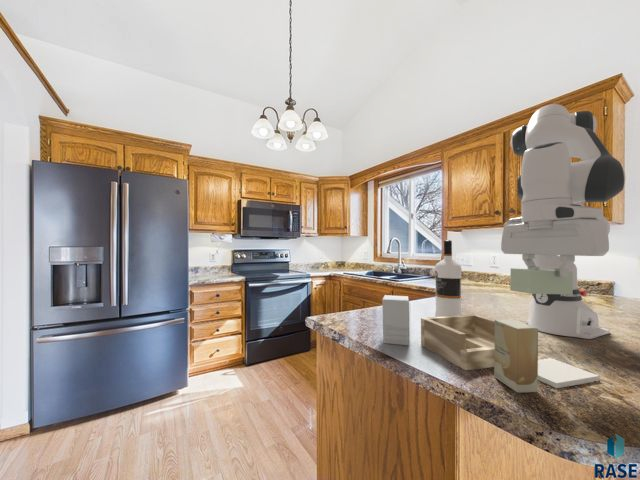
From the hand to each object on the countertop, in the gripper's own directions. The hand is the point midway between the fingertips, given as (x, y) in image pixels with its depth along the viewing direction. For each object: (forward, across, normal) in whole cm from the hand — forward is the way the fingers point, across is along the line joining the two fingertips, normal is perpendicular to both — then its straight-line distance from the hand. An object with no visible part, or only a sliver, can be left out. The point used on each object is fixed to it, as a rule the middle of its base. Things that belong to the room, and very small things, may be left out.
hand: (547, 275), depth 60 cm
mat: (+21, +2, -1) cm, 21 cm away
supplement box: (+21, -25, -24) cm, 40 cm away
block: (+4, 0, -2) cm, 4 cm away
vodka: (+21, -33, +1) cm, 40 cm away
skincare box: (+21, +3, -14) cm, 25 cm away
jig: (+21, -12, -9) cm, 26 cm away
